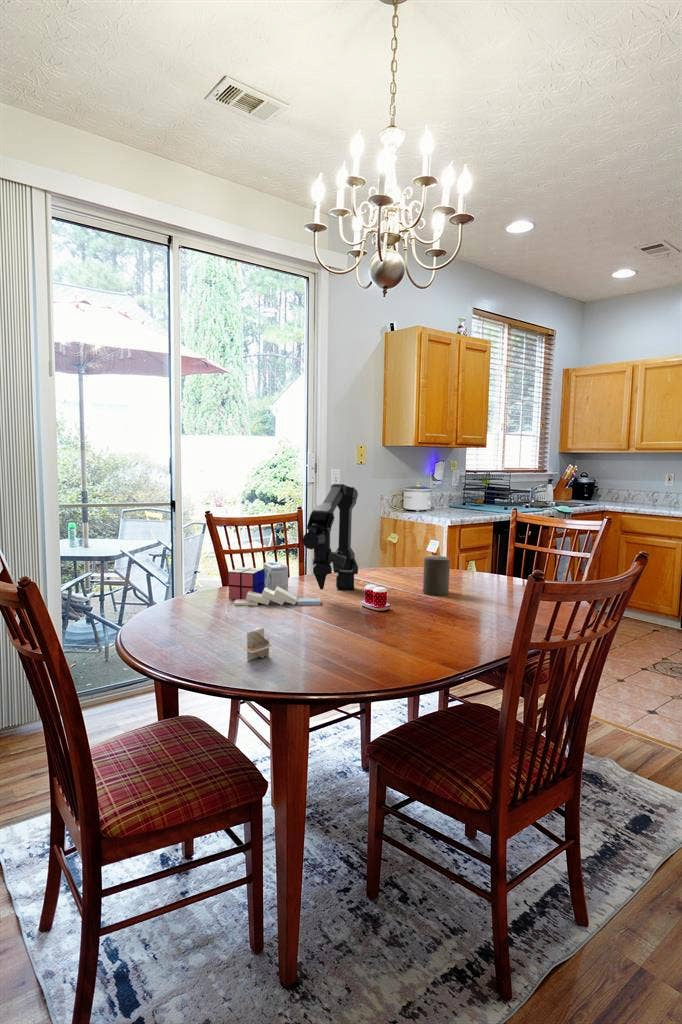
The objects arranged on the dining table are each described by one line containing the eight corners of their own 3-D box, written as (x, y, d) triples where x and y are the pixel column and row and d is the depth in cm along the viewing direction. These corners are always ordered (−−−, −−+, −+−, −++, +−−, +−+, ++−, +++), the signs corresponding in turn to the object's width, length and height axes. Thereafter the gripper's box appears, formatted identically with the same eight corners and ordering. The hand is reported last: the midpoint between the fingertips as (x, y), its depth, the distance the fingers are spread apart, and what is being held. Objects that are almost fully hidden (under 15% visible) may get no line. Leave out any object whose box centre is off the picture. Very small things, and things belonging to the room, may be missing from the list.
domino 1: (258, 599, 206) (235, 599, 206) (257, 602, 201) (234, 602, 201) (258, 604, 206) (235, 604, 206) (257, 608, 201) (234, 608, 201)
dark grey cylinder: (431, 596, 216) (433, 556, 215) (418, 591, 225) (419, 552, 224) (453, 595, 220) (455, 555, 219) (439, 589, 229) (441, 551, 227)
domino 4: (297, 596, 207) (277, 586, 206) (296, 600, 202) (276, 589, 201) (294, 601, 207) (274, 591, 206) (294, 605, 202) (273, 594, 201)
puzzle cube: (253, 601, 207) (253, 573, 206) (228, 599, 210) (228, 571, 209) (265, 595, 217) (265, 568, 216) (240, 593, 220) (240, 566, 219)
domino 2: (271, 596, 206) (249, 590, 206) (269, 599, 201) (247, 593, 201) (269, 601, 206) (247, 596, 206) (268, 604, 202) (245, 599, 201)
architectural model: (273, 658, 149) (273, 630, 148) (252, 666, 144) (252, 636, 143) (264, 655, 151) (264, 627, 150) (243, 662, 146) (243, 633, 145)
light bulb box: (262, 590, 224) (262, 562, 223) (279, 588, 227) (279, 561, 226) (271, 596, 215) (271, 567, 214) (288, 594, 218) (288, 566, 217)
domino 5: (320, 607, 203) (297, 607, 202) (320, 603, 208) (297, 603, 207) (320, 601, 203) (297, 601, 202) (320, 597, 207) (297, 598, 207)
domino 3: (285, 596, 207) (264, 587, 206) (284, 600, 202) (263, 590, 201) (282, 601, 207) (262, 592, 206) (282, 605, 202) (261, 595, 201)
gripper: (346, 549, 194) (346, 595, 196) (343, 541, 213) (343, 583, 214) (313, 549, 194) (313, 595, 195) (312, 541, 212) (312, 583, 214)
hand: (321, 589), depth 205 cm, fingers closed
